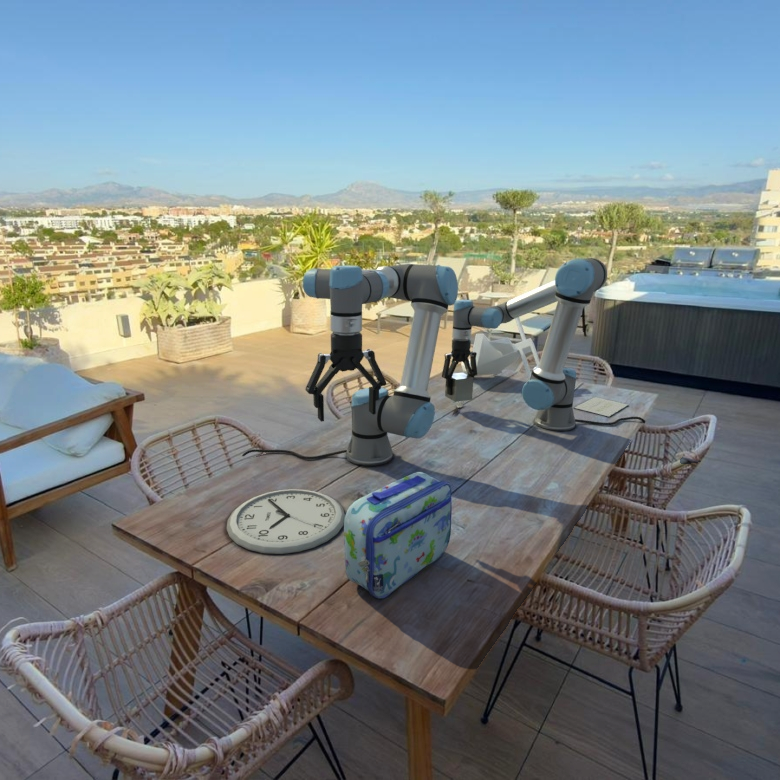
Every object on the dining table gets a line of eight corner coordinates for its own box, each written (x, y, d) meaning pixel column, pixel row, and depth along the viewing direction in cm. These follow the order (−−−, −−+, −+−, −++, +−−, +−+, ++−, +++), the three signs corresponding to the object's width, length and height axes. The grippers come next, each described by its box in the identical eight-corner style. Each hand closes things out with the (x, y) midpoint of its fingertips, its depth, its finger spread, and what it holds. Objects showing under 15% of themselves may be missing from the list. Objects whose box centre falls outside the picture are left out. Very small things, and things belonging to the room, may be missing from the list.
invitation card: (608, 416, 214) (573, 407, 224) (608, 416, 214) (573, 408, 224) (628, 404, 229) (594, 396, 238) (628, 405, 229) (594, 397, 238)
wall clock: (345, 545, 122) (213, 550, 119) (345, 551, 122) (214, 556, 120) (344, 484, 150) (238, 487, 148) (345, 490, 151) (239, 492, 148)
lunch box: (372, 611, 103) (373, 518, 97) (338, 585, 111) (336, 497, 104) (455, 557, 121) (460, 475, 115) (420, 537, 128) (424, 459, 122)
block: (445, 396, 219) (445, 374, 216) (461, 393, 222) (462, 372, 219) (455, 401, 211) (456, 379, 209) (472, 399, 214) (473, 377, 212)
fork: (449, 415, 212) (449, 411, 211) (458, 403, 226) (458, 399, 226) (455, 416, 211) (455, 411, 211) (464, 404, 225) (464, 400, 225)
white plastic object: (482, 418, 266) (461, 395, 241) (463, 346, 288) (443, 318, 264) (553, 394, 254) (538, 368, 229) (528, 321, 276) (512, 289, 251)
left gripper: (299, 339, 116) (302, 427, 123) (400, 331, 126) (398, 414, 132) (290, 332, 123) (294, 417, 129) (387, 326, 133) (386, 405, 139)
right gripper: (443, 342, 202) (440, 398, 209) (488, 338, 210) (485, 392, 217) (434, 339, 209) (432, 393, 215) (478, 335, 217) (475, 388, 223)
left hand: (347, 416), depth 131 cm, fingers open, 13 cm apart
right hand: (458, 393), depth 216 cm, fingers closed on block, 8 cm apart
